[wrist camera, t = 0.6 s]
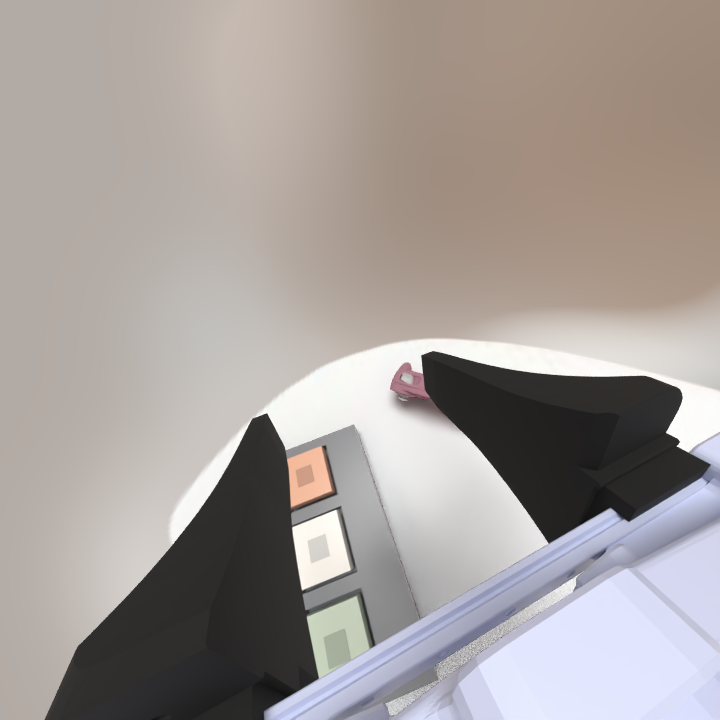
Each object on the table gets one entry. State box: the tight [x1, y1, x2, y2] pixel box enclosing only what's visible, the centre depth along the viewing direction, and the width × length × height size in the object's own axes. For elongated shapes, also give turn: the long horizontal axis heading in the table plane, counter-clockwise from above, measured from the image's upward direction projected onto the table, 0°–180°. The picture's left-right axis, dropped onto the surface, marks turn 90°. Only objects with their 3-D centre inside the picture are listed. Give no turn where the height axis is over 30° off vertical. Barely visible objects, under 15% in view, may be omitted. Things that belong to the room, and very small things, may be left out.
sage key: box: [307, 593, 373, 679], centre depth 19 cm, size 4×4×2 cm
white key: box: [292, 510, 354, 590], centre depth 22 cm, size 4×4×2 cm
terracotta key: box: [287, 446, 336, 510], centre depth 26 cm, size 4×4×2 cm
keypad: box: [286, 425, 438, 712], centre depth 23 cm, size 19×12×3 cm, turn 18°
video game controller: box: [390, 363, 431, 401], centre depth 29 cm, size 10×5×7 cm
